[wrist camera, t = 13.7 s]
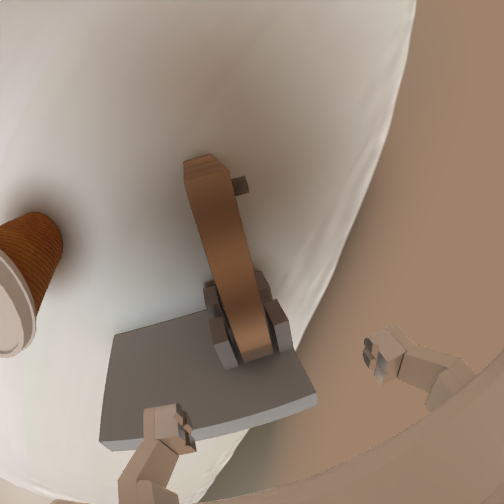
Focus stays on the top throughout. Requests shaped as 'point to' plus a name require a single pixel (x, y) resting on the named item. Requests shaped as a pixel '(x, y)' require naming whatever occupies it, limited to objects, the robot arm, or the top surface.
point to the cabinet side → (202, 375)
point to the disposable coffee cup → (25, 276)
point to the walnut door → (228, 251)
